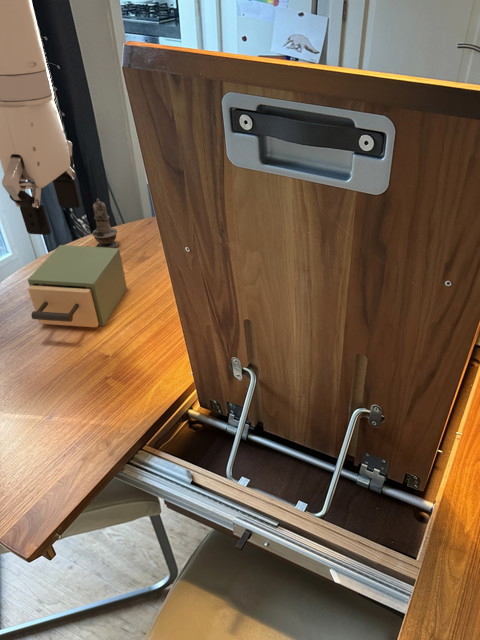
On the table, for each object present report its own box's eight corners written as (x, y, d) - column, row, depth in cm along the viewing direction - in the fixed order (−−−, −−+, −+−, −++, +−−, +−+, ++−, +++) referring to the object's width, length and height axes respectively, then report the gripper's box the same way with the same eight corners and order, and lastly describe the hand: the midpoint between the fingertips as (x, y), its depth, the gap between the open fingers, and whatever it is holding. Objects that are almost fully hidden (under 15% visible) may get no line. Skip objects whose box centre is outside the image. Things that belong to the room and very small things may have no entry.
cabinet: (103, 326, 101) (93, 283, 95) (41, 322, 102) (27, 279, 96) (127, 288, 113) (119, 248, 106) (70, 285, 113) (59, 244, 107)
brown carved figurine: (118, 239, 131) (109, 192, 124) (120, 249, 127) (111, 201, 119) (94, 242, 130) (83, 195, 122) (95, 252, 125) (84, 204, 118)
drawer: (87, 342, 96) (77, 306, 91) (27, 338, 96) (14, 302, 91) (119, 291, 110) (112, 258, 105) (67, 288, 110) (58, 255, 106)
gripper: (25, 73, 71) (57, 196, 82) (-52, 101, 58) (-1, 243, 69) (77, 75, 70) (103, 199, 81) (12, 104, 57) (53, 247, 68)
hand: (55, 219), depth 75 cm, fingers open, 9 cm apart
